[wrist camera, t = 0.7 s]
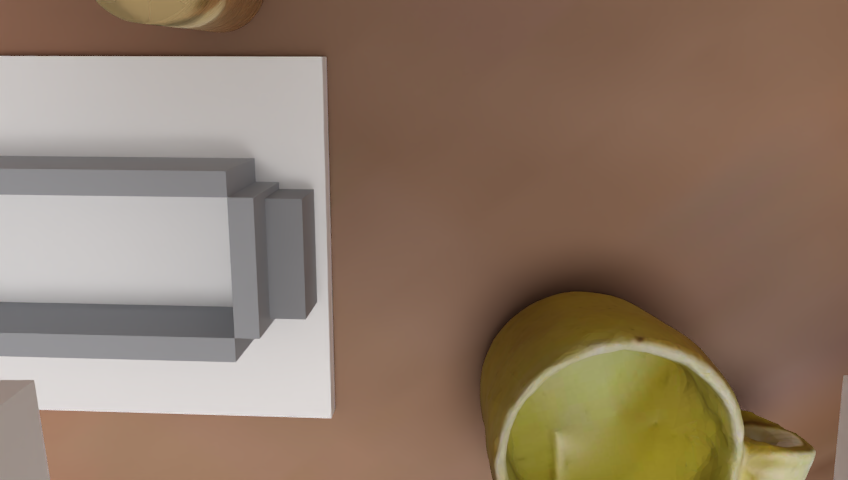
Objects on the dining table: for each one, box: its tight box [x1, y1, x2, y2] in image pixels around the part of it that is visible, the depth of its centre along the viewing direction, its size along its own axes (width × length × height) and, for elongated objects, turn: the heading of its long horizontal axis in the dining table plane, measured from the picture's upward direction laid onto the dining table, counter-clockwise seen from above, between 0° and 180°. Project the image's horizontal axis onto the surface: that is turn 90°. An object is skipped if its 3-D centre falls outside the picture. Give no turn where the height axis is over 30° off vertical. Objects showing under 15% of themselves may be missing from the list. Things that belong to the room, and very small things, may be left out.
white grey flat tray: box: [0, 56, 335, 418], centre depth 33 cm, size 16×23×5 cm
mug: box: [480, 291, 816, 480], centre depth 32 cm, size 12×10×10 cm
